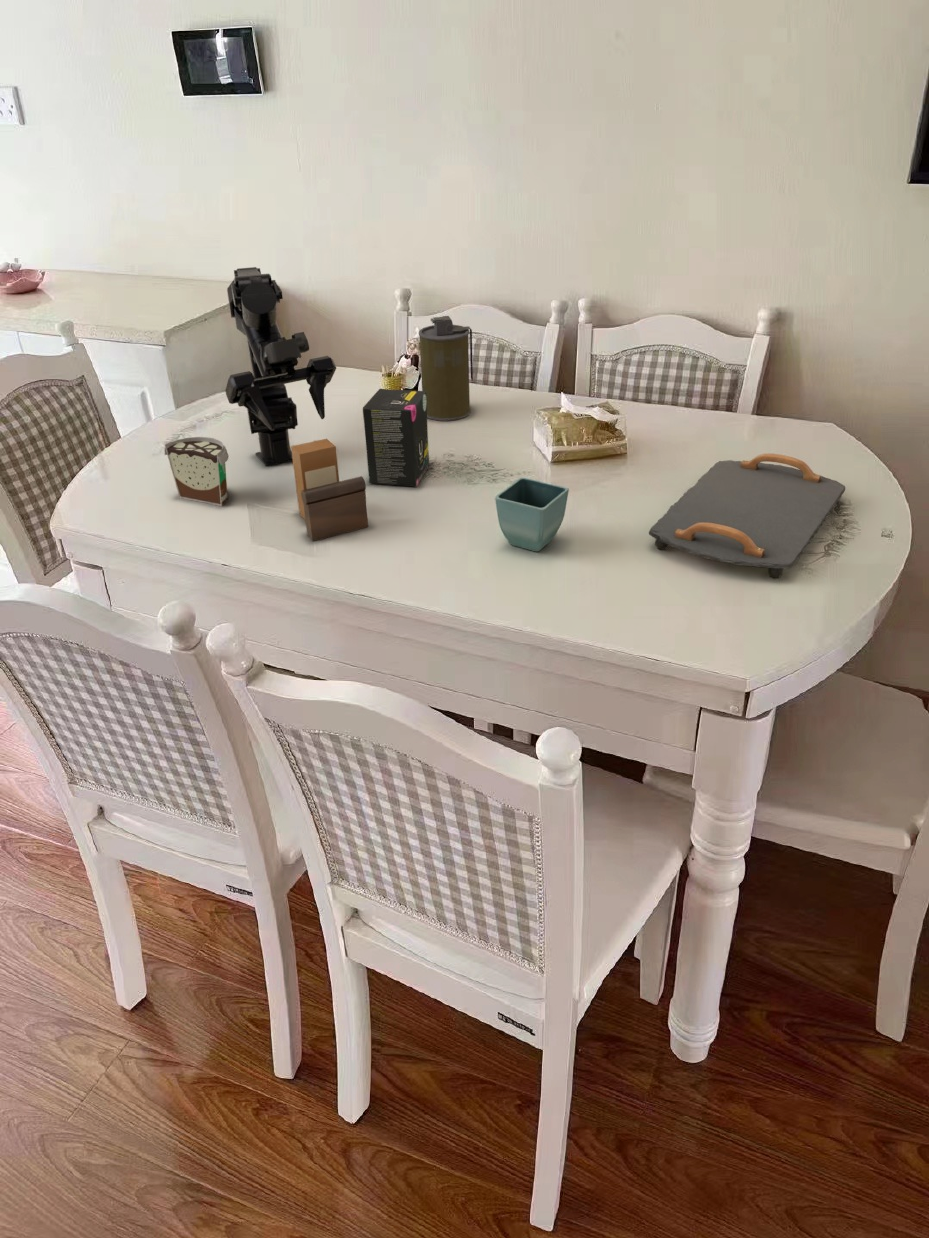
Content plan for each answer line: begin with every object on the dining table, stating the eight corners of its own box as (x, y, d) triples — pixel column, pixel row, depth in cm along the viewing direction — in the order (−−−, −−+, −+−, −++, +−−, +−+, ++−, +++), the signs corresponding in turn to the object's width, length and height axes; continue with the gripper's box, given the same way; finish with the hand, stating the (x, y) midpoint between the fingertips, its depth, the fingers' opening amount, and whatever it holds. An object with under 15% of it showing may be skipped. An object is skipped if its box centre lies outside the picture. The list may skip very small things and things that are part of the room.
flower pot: (542, 561, 150) (543, 509, 145) (493, 548, 154) (493, 496, 149) (568, 538, 156) (570, 487, 152) (520, 526, 160) (521, 476, 156)
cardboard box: (299, 514, 166) (290, 446, 160) (333, 505, 169) (326, 438, 162) (308, 523, 163) (299, 454, 157) (343, 514, 166) (336, 446, 159)
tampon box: (417, 488, 174) (412, 410, 166) (367, 484, 176) (361, 407, 168) (431, 464, 183) (427, 389, 176) (384, 461, 185) (378, 387, 177)
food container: (249, 493, 174) (241, 441, 169) (228, 507, 169) (219, 454, 164) (194, 483, 178) (184, 432, 173) (172, 496, 174) (162, 444, 168)
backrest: (306, 536, 159) (300, 488, 155) (363, 521, 163) (359, 474, 159) (311, 541, 158) (305, 493, 153) (369, 526, 162) (365, 479, 157)
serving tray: (783, 592, 140) (789, 554, 137) (635, 554, 151) (638, 519, 148) (849, 494, 168) (856, 460, 165) (721, 468, 179) (725, 436, 175)
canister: (426, 423, 202) (422, 327, 191) (418, 406, 210) (414, 313, 200) (477, 418, 203) (476, 322, 193) (467, 402, 212) (465, 309, 201)
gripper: (220, 327, 155) (253, 414, 154) (326, 308, 163) (359, 391, 161) (212, 361, 166) (243, 443, 164) (313, 342, 173) (344, 420, 171)
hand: (298, 423), depth 165 cm, fingers open, 9 cm apart
